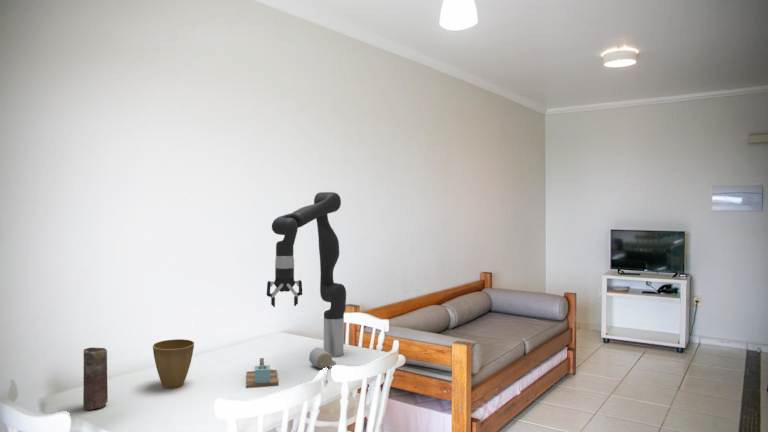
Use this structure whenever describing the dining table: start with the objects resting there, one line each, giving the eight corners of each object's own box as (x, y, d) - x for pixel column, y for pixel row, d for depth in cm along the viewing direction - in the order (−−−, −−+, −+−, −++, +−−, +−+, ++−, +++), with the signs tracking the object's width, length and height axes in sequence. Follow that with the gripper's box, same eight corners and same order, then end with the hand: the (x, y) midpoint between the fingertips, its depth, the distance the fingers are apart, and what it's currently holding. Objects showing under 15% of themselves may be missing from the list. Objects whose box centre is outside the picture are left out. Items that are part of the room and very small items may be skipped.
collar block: (254, 378, 212) (254, 366, 212) (269, 377, 213) (269, 365, 213) (255, 383, 206) (255, 370, 206) (270, 382, 208) (270, 369, 208)
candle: (89, 402, 189) (89, 345, 188) (111, 402, 189) (111, 345, 189) (79, 411, 181) (78, 352, 180) (102, 410, 182) (101, 351, 181)
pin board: (246, 374, 220) (246, 357, 220) (276, 372, 223) (276, 355, 223) (246, 387, 205) (246, 369, 205) (278, 385, 208) (278, 366, 208)
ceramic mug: (317, 371, 226) (317, 352, 225) (308, 366, 232) (309, 348, 232) (339, 367, 232) (340, 349, 231) (330, 362, 238) (330, 345, 238)
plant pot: (154, 394, 197) (154, 351, 197) (151, 382, 210) (151, 341, 210) (197, 388, 204) (197, 346, 203) (191, 376, 217) (191, 337, 217)
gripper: (301, 265, 225) (301, 303, 226) (266, 265, 222) (266, 305, 222) (303, 267, 218) (302, 307, 218) (267, 268, 215) (266, 308, 215)
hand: (284, 306), depth 220 cm, fingers open, 8 cm apart
